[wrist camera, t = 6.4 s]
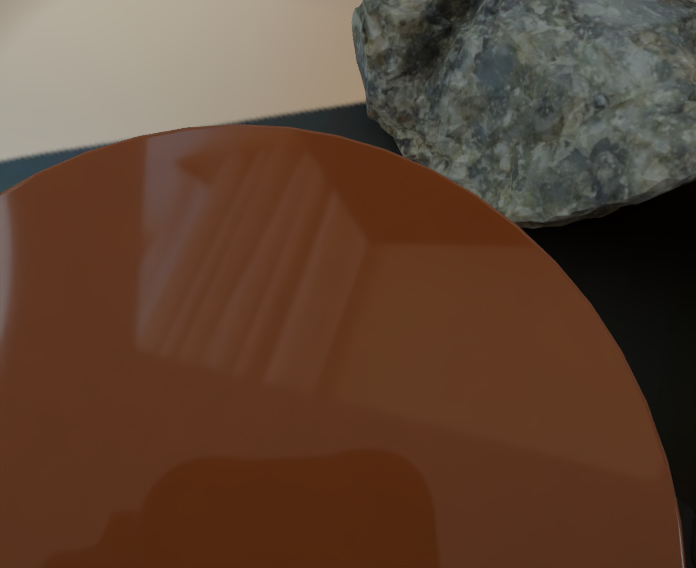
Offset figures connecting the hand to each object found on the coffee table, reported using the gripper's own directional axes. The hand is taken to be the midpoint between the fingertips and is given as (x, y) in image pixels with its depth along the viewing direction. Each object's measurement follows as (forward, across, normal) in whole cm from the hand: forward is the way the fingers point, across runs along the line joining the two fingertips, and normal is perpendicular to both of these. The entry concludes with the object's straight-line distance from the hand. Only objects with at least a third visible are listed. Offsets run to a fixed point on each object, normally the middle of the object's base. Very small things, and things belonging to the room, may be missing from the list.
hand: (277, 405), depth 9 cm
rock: (+12, -5, -2) cm, 14 cm away
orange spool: (+2, 0, +4) cm, 5 cm away
